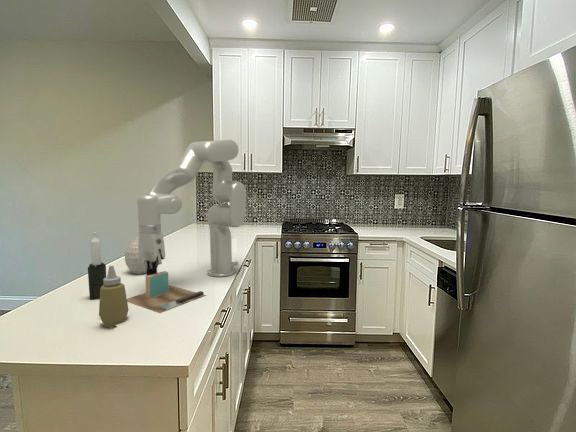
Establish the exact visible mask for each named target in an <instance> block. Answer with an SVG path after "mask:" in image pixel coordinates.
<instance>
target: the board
mask: <svg viewBox="0 0 576 432" xmlns="http://www.w3.org/2000/svg"><path fill="white" fill-rule="evenodd" d="M194 293H196V291H193V290H189V289H184V288H181V287H177V286H174V285H171V284H170V285H169V293H167V294H164V295H161V296H158V297H155V298H152V299H148V298H146V292H144V293H142V294H138V295H135V296H131V297H129V298H127V303H129V304H132V305H134V306H137V307H141V308H144V309H147V310H149V311H153V312H155V313H157V314H162V313H164V312H167V311H170V310H173V309H175V308H178V307H181V306H183V305H185V304H188V303H190V302H194V301H196V300H198V299H202V298H205V297H207V294H204V293H203V295H201V296H198V297H195V298H193V299H190V300H187V301H185V302H182V303H181V304H182V305H179V306H176V307H174V308H171V309H169V310H166V309H163V308H160V307H159V306H161V305H164V304H167V303H170V302H173V301H175V302H176V300H177V299H180V298H183V297H185V296H188V295H191V294H194Z"/></svg>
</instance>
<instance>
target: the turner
mask: <svg viewBox="0 0 576 432" xmlns="http://www.w3.org/2000/svg"><path fill="white" fill-rule="evenodd" d="M195 292H196V291H195ZM203 294H204V291H201V290H200V291H197V292H196V293H194V294H191V295H188V296H185V297H183V298H180V299H177V300H176V302H175V301H173V302H170V303H167V304H164V305H161V306H159V307H160V308H163V309H166V310H167V311H170V310H172V309H171V308H173V309H175V308H177V307H176V306H178V307H180V306H179V305H181V306H183V305H182V304H181V303H182V302H185V301H187V300H190V299H193V298H195V297H198V296H201V295H203ZM174 307H175V308H174ZM169 309H170V310H169Z"/></svg>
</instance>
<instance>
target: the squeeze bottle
mask: <svg viewBox="0 0 576 432" xmlns="http://www.w3.org/2000/svg"><path fill="white" fill-rule="evenodd" d="M103 283H104V285H103V286H102V287H101V288H100V299H99V304H98V305H99V306H98V310H99V311H98V317H99V318H100V320H101V322H102V325H103V326H104V327H106V328H117V326H116V325H117V324H121V323H122V322H124V321H126V319H127V318H128V317H127V316H128V313H129V310H130V309H129V305H128V303H129V302H127V299H128V298H127V293H126V292H127V291H126V287H125V284H124V283H122V279H121V276H119V275H117V272H116V270H115V267H114V265H109V266H108V271H107V274H106V278H104V279H103Z"/></svg>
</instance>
